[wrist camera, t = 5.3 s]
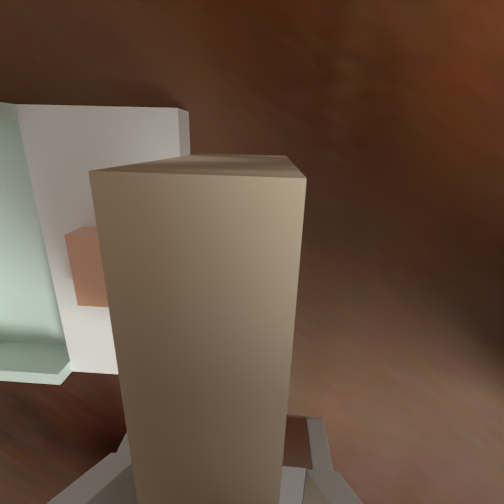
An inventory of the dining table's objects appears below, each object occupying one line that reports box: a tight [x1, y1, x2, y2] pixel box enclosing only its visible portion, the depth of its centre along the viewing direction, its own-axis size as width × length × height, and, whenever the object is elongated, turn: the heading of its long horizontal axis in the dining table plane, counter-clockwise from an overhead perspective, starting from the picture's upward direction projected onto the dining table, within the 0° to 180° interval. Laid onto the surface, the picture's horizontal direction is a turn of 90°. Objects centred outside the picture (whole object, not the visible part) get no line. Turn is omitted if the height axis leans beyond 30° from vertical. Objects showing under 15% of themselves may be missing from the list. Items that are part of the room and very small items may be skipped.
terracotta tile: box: [64, 226, 108, 307], centre depth 21 cm, size 5×5×2 cm
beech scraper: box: [88, 153, 307, 504], centre depth 9 cm, size 2×16×6 cm, turn 179°
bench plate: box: [15, 104, 190, 374], centre depth 23 cm, size 10×20×2 cm, turn 178°
